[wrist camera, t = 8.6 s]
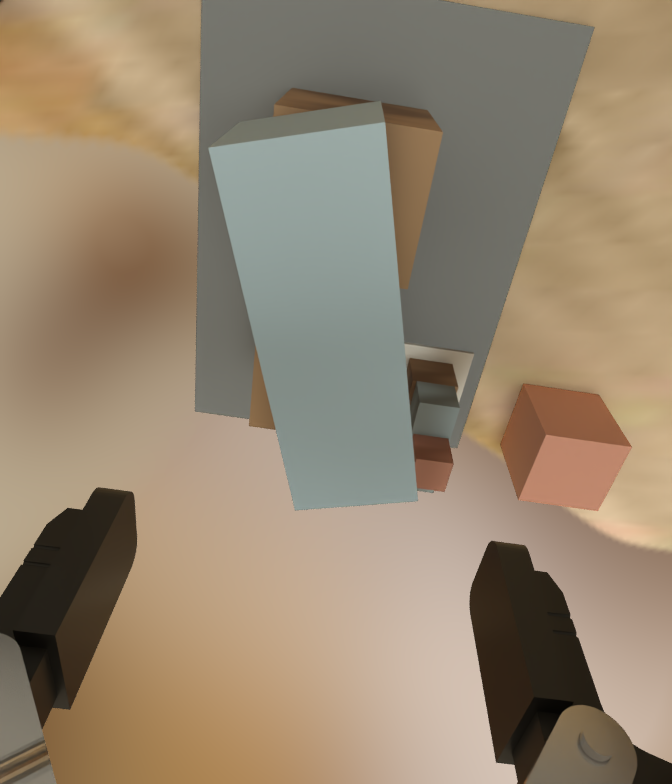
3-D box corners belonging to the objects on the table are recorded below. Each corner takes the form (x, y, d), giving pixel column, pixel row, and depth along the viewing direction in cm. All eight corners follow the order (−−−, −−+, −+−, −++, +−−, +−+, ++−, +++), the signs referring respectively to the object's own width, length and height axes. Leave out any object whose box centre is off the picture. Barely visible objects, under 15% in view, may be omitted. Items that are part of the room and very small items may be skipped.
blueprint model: (473, 352, 32) (496, 422, 26) (441, 454, 36) (456, 533, 30) (394, 340, 32) (401, 408, 26) (371, 444, 36) (372, 522, 30)
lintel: (380, 100, 20) (385, 122, 16) (409, 427, 28) (417, 501, 23) (239, 122, 21) (208, 147, 16) (305, 436, 28) (295, 510, 24)
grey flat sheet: (589, 26, 24) (594, 27, 24) (455, 442, 36) (457, 448, 36) (205, -41, 24) (202, -42, 23) (197, 405, 35) (194, 411, 35)
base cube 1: (427, 109, 26) (443, 132, 21) (400, 242, 29) (407, 289, 24) (291, 87, 25) (274, 104, 20) (279, 223, 29) (261, 267, 24)
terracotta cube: (598, 394, 34) (631, 447, 30) (570, 454, 36) (597, 510, 32) (523, 383, 34) (546, 434, 30) (500, 444, 36) (518, 499, 32)
